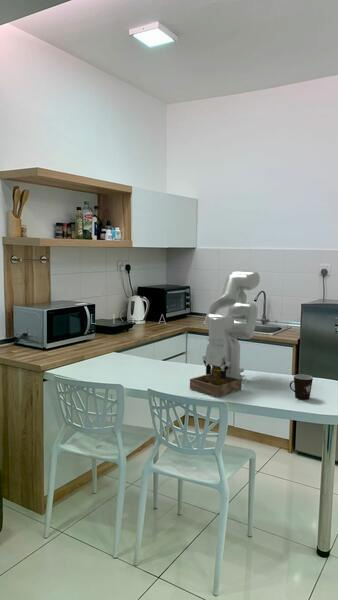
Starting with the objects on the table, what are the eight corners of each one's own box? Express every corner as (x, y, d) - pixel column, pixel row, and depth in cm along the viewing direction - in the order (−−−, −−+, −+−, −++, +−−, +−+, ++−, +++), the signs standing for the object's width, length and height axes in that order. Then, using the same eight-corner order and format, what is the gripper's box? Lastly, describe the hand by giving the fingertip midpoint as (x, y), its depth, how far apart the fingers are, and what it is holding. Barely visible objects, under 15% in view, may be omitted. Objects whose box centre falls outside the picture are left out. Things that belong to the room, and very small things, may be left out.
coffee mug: (308, 394, 218) (309, 374, 217) (314, 400, 209) (315, 379, 208) (284, 394, 218) (285, 374, 217) (289, 400, 209) (290, 379, 208)
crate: (213, 381, 238) (213, 372, 237) (241, 389, 225) (241, 379, 225) (189, 388, 226) (189, 379, 225) (217, 397, 213) (218, 387, 212)
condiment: (226, 387, 225) (227, 363, 223) (213, 390, 220) (213, 366, 219) (217, 384, 231) (217, 360, 229) (204, 386, 226) (204, 363, 225)
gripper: (198, 340, 226) (197, 374, 228) (225, 346, 214) (224, 381, 216) (208, 338, 232) (207, 371, 234) (235, 343, 219) (234, 378, 221)
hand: (215, 376), depth 225 cm, fingers open, 9 cm apart
